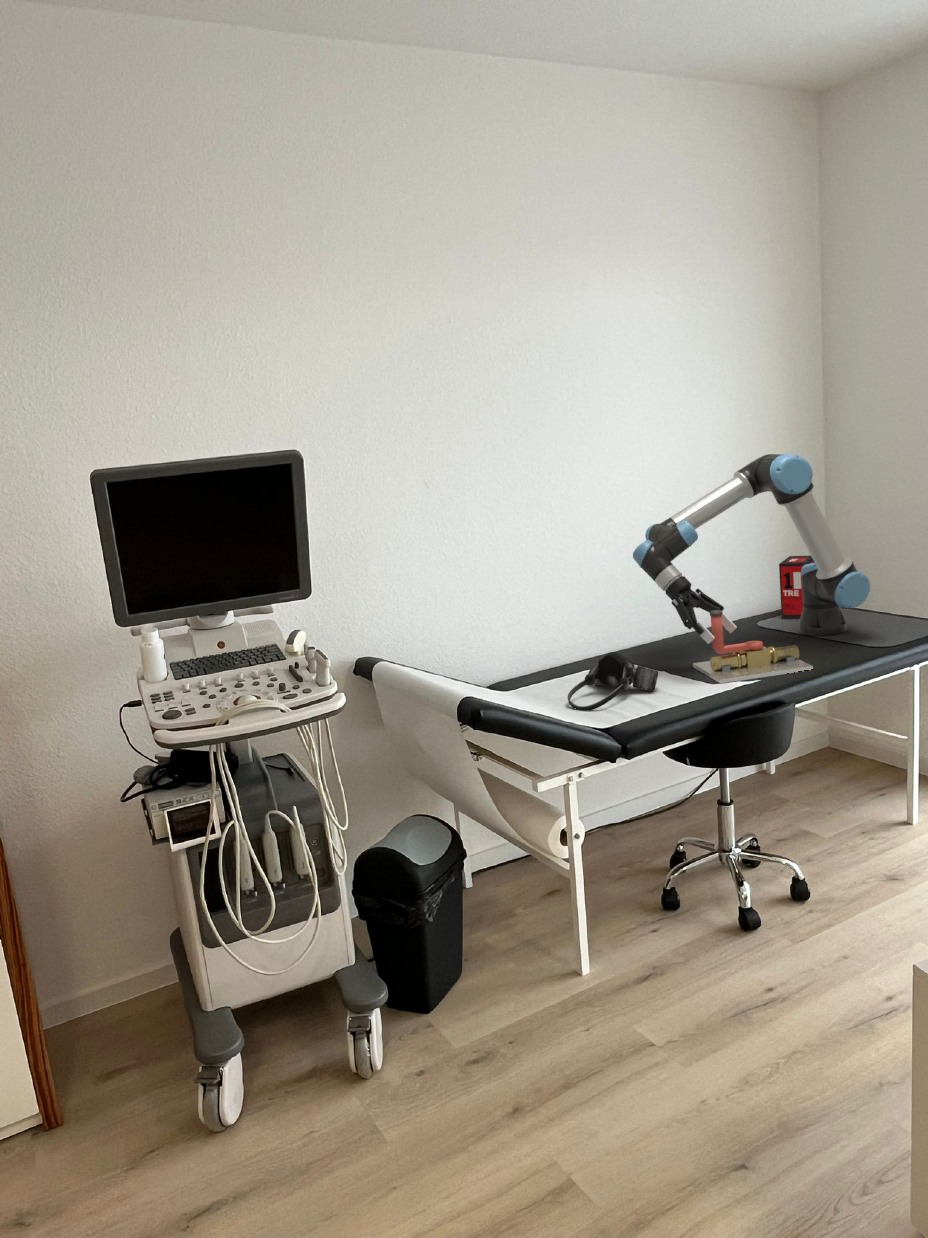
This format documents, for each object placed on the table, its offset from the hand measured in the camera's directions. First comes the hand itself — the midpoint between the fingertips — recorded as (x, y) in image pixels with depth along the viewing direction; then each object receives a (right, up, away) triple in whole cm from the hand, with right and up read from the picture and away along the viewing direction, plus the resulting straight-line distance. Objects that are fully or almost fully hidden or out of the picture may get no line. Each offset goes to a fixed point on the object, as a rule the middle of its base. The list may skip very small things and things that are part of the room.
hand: (722, 635), depth 285 cm
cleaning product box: (+46, +6, +68) cm, 83 cm away
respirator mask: (-35, -18, -7) cm, 40 cm away
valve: (+10, -10, +5) cm, 15 cm away
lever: (+5, -4, +3) cm, 7 cm away
